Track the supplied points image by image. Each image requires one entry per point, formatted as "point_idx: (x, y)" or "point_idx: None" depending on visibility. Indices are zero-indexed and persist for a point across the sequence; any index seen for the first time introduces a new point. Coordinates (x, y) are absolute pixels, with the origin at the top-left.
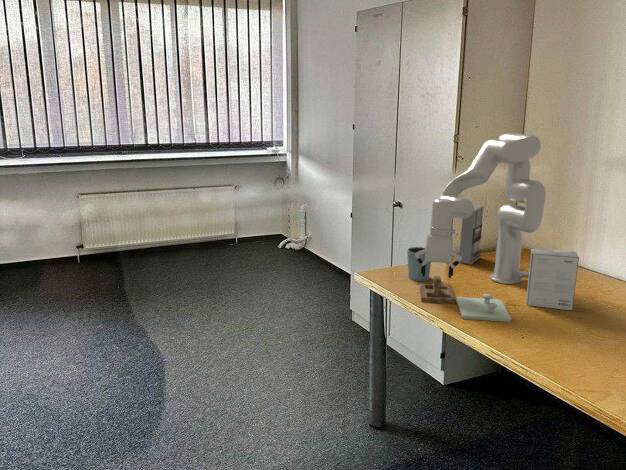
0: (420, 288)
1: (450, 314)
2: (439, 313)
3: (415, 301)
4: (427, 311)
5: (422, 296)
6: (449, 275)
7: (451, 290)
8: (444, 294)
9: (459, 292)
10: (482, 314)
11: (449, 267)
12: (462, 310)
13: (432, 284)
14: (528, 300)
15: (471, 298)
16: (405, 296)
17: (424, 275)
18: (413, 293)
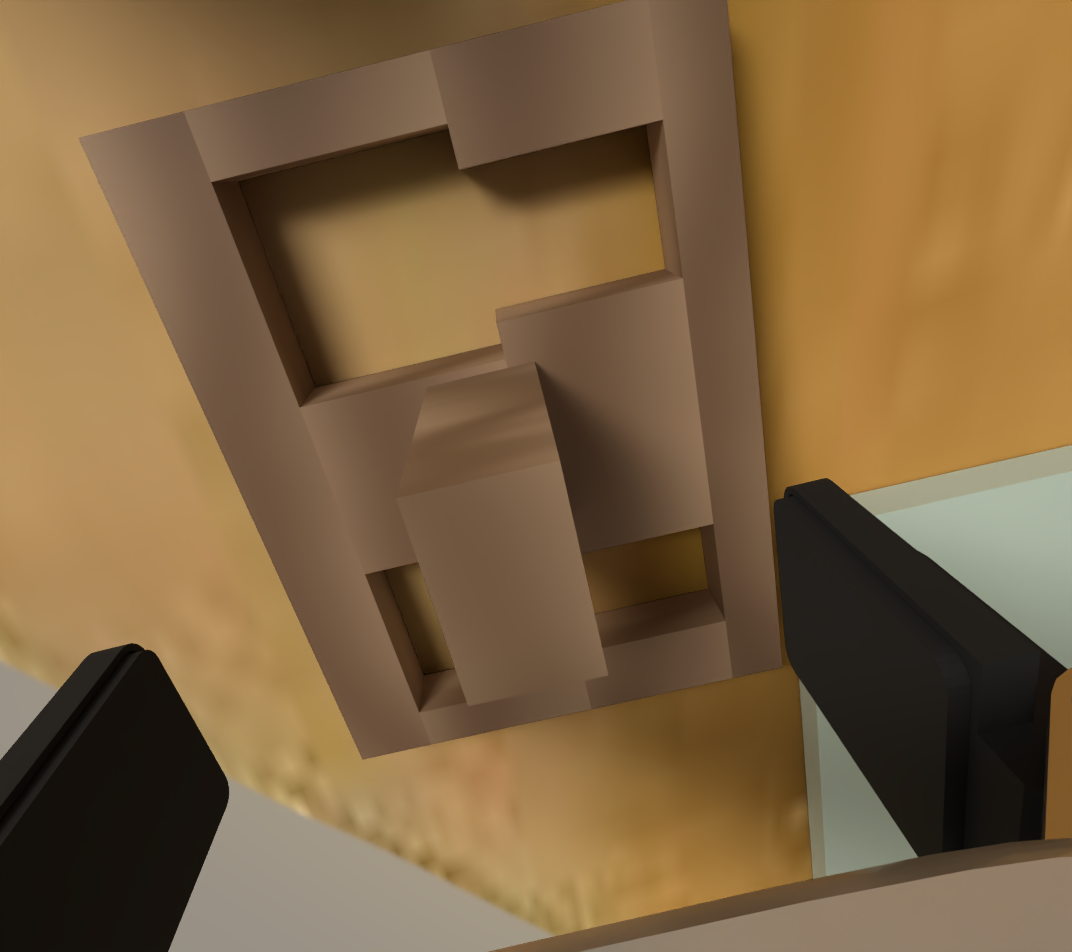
0: (214, 427)
1: (714, 879)
2: (613, 895)
3: (304, 737)
4: (497, 899)
5: (359, 720)
6: (826, 706)
7: (740, 311)
8: (636, 540)
9: (858, 142)
10: None
11: (943, 792)
12: (841, 866)
13: (347, 85)
14: None
15: (1010, 510)
16: (120, 643)
17: (219, 811)
18: (166, 496)
